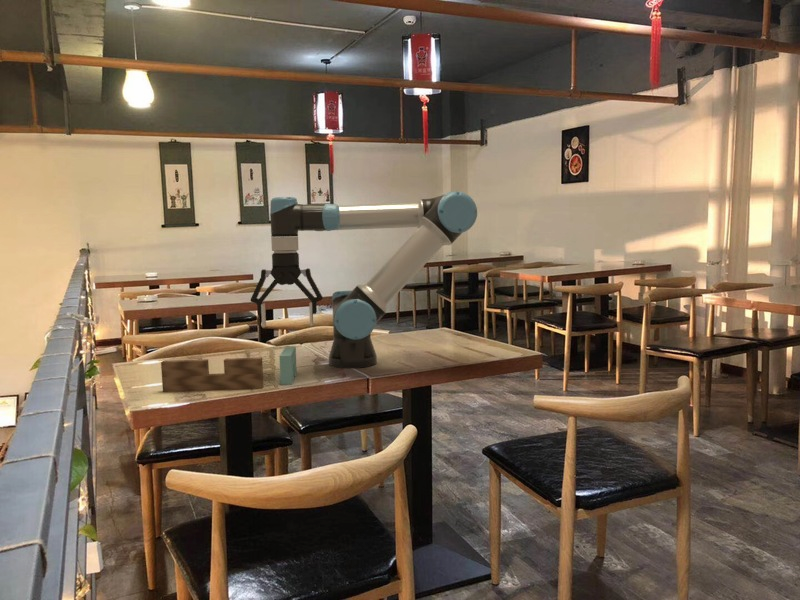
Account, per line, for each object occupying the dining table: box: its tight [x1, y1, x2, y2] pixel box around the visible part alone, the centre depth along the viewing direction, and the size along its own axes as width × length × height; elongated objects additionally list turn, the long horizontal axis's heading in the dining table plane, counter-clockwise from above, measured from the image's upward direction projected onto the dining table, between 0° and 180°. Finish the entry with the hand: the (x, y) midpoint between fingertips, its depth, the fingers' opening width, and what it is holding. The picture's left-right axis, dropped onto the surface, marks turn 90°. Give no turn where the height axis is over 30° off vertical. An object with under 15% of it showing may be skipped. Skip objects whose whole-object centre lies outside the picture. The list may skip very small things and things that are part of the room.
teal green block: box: [279, 345, 298, 386], centre depth 176 cm, size 3×14×8 cm, turn 4°
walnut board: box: [160, 357, 264, 393], centre depth 166 cm, size 26×2×8 cm, turn 94°
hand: (287, 326), depth 179 cm, fingers open, 13 cm apart
